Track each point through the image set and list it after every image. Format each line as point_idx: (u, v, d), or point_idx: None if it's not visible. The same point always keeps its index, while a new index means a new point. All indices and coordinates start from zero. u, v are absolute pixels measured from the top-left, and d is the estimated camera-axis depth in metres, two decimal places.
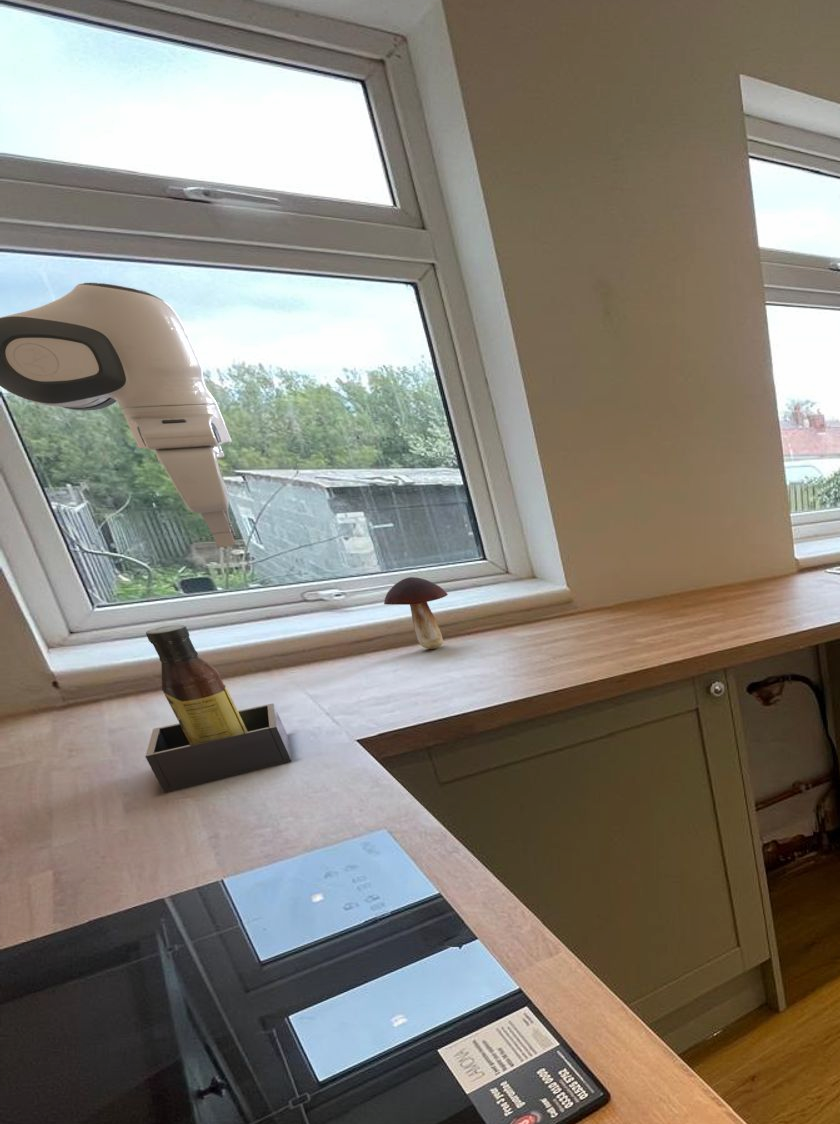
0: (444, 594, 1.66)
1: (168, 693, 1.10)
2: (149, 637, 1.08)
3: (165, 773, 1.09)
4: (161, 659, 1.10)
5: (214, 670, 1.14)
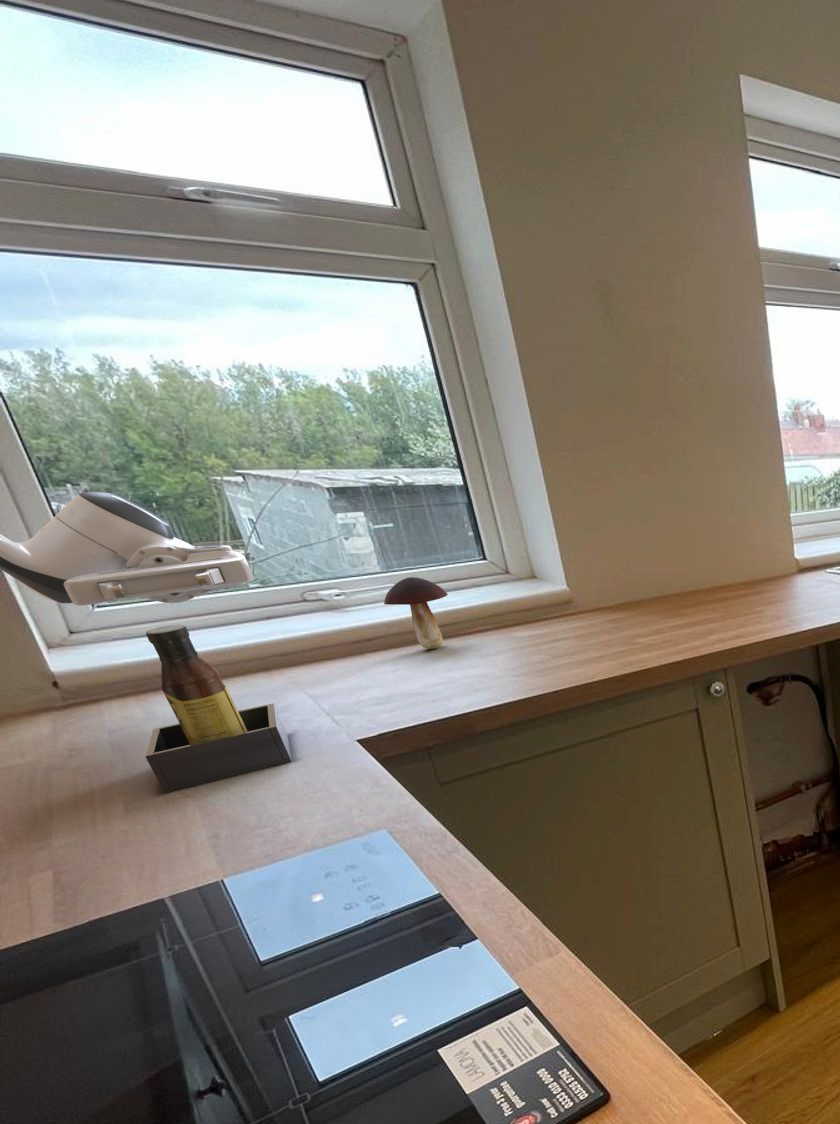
0: (444, 594, 1.66)
1: (168, 693, 1.10)
2: (149, 637, 1.08)
3: (165, 773, 1.09)
4: (161, 659, 1.10)
5: (214, 670, 1.14)
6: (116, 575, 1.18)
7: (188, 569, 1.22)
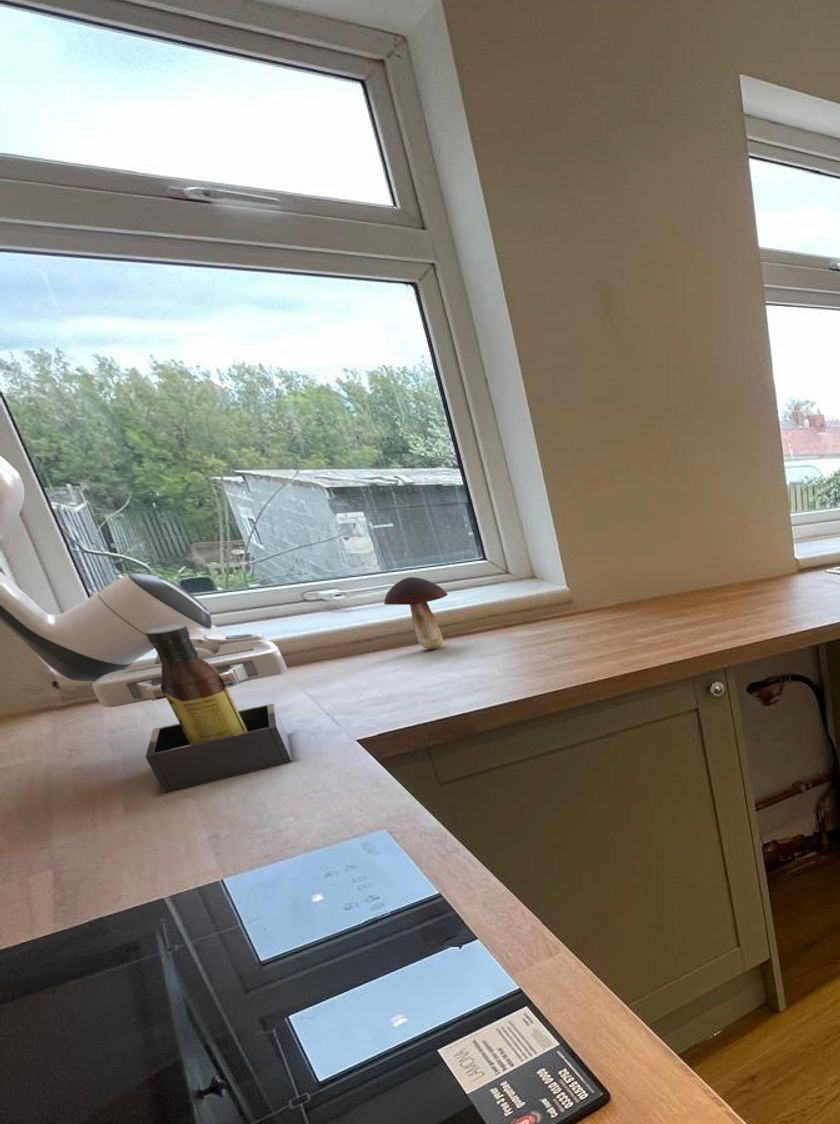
0: (444, 594, 1.66)
1: (168, 693, 1.10)
2: (149, 637, 1.08)
3: (165, 773, 1.09)
4: (161, 659, 1.10)
5: (214, 670, 1.14)
6: (146, 674, 1.13)
7: (220, 664, 1.17)
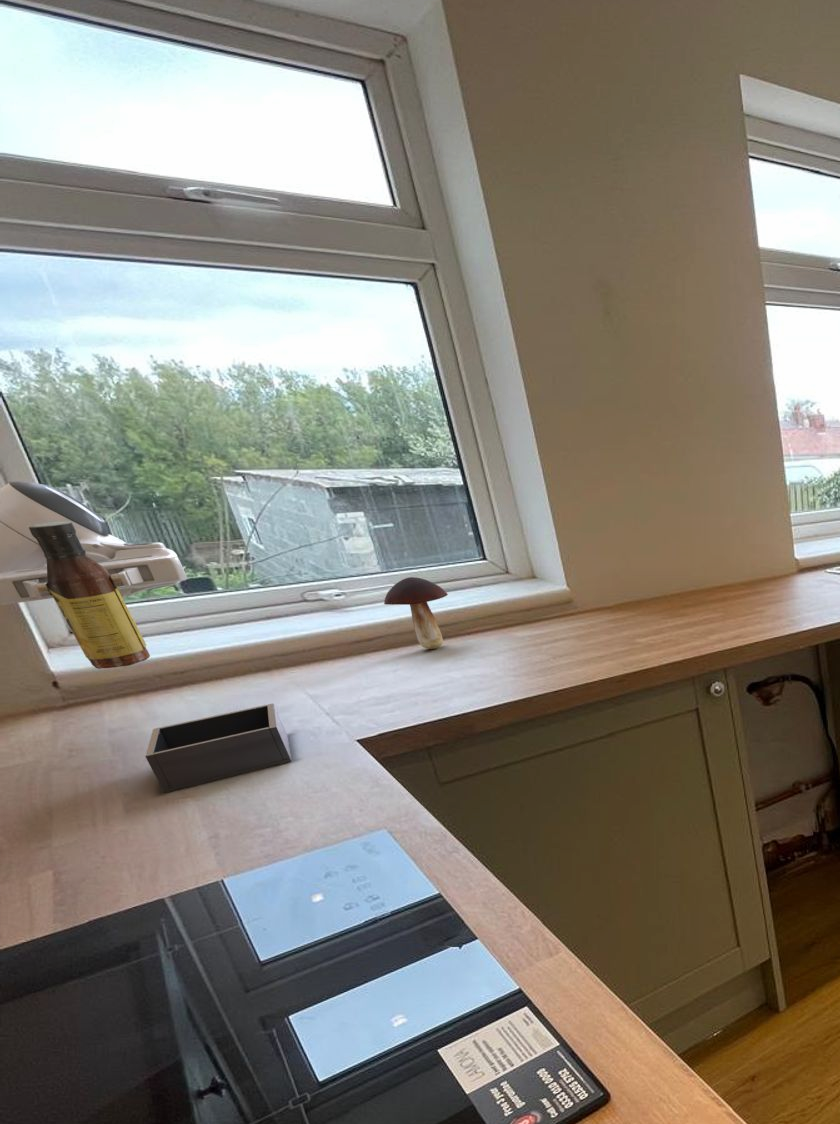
0: (444, 594, 1.66)
1: (54, 590, 1.09)
2: (32, 531, 1.06)
3: (165, 773, 1.09)
4: (45, 555, 1.08)
5: (103, 570, 1.12)
6: (34, 573, 1.11)
7: (113, 567, 1.16)
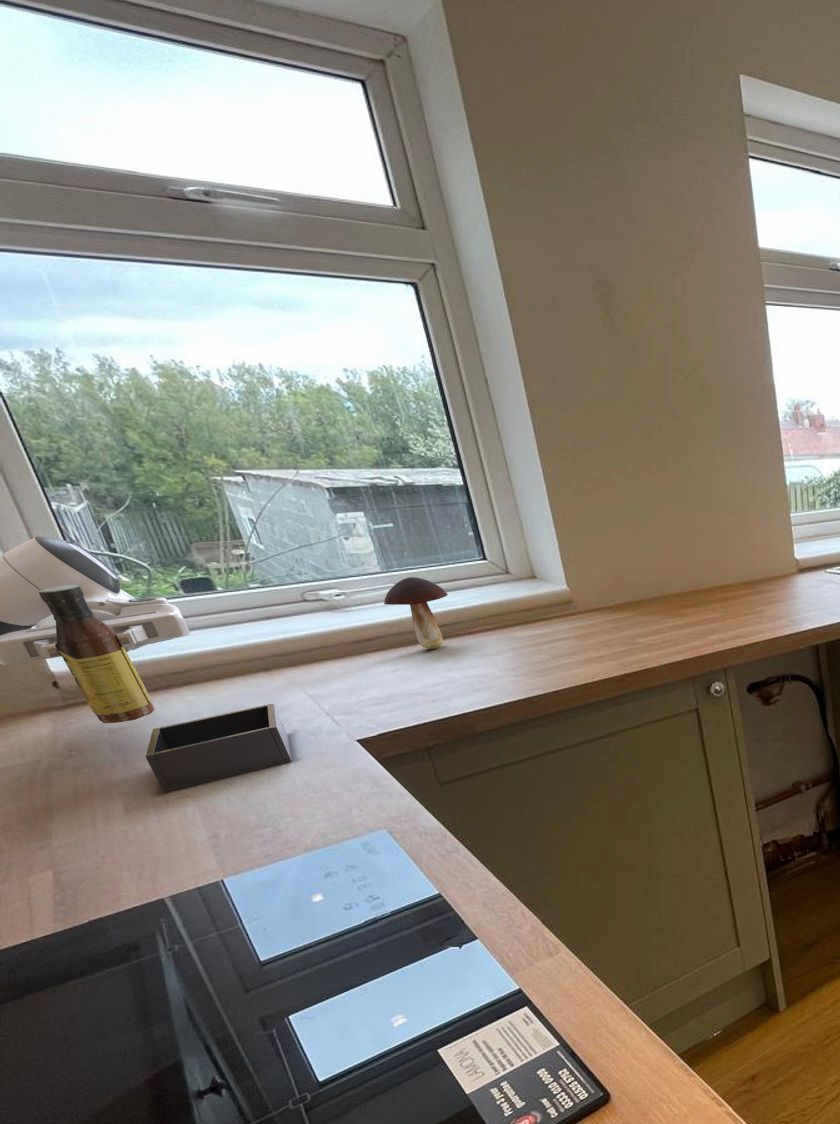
0: (444, 594, 1.66)
1: (63, 651, 1.14)
2: (42, 596, 1.11)
3: (165, 773, 1.09)
4: (55, 618, 1.13)
5: (110, 630, 1.17)
6: (43, 633, 1.16)
7: (119, 625, 1.21)
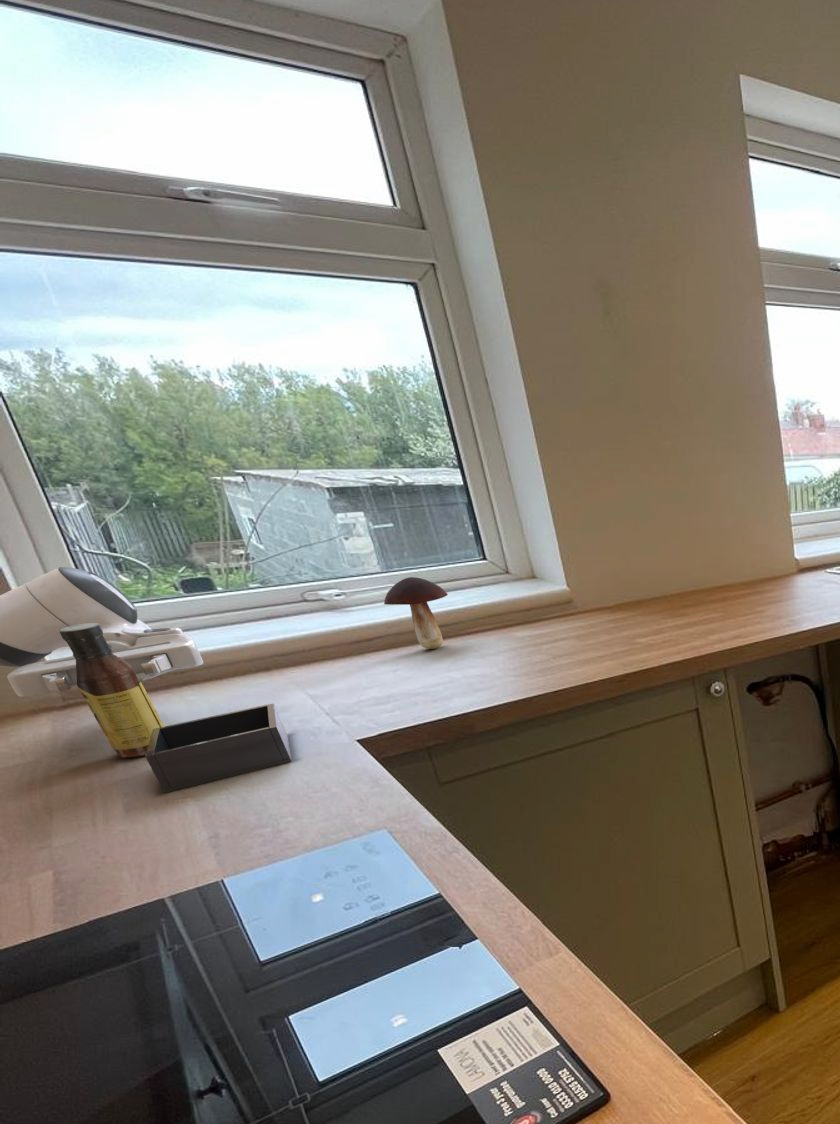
0: (444, 594, 1.66)
1: (82, 688, 1.16)
2: (62, 635, 1.14)
3: (165, 773, 1.09)
4: (75, 656, 1.15)
5: (128, 666, 1.19)
6: (61, 666, 1.18)
7: (135, 656, 1.23)
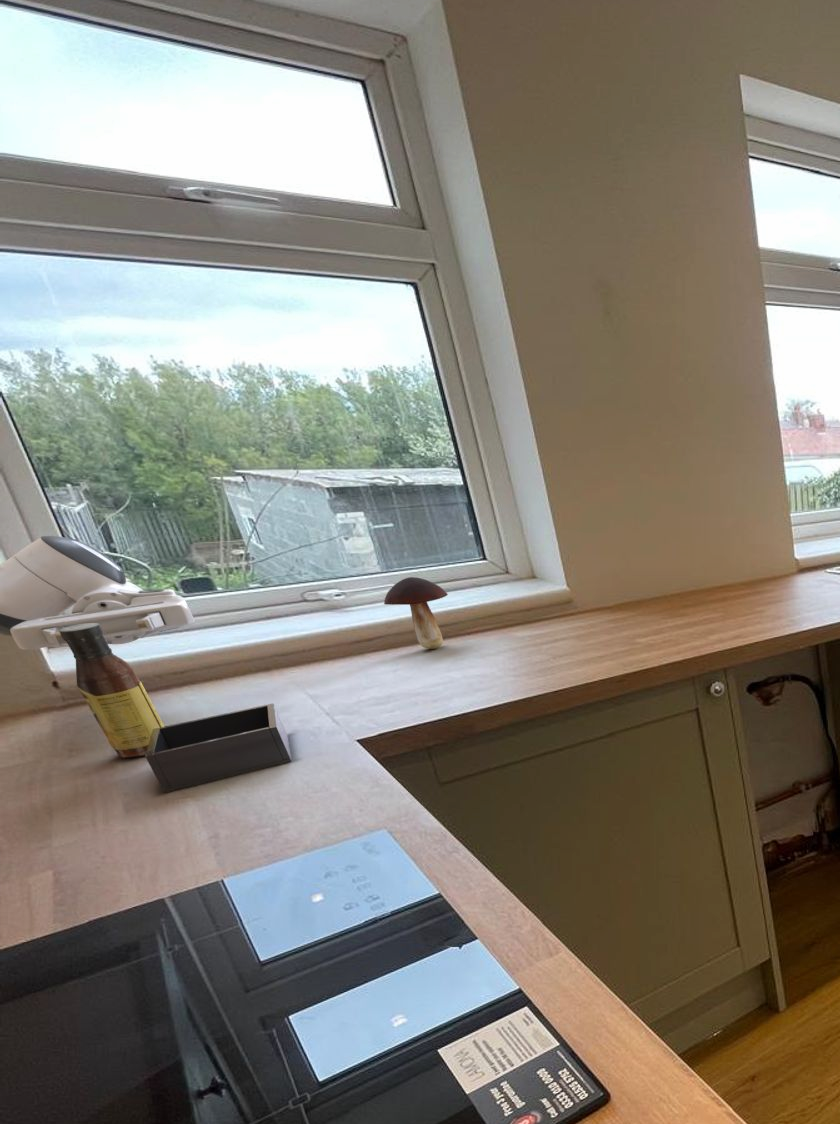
0: (444, 594, 1.66)
1: (82, 688, 1.16)
2: (62, 635, 1.14)
3: (165, 773, 1.09)
4: (75, 656, 1.15)
5: (128, 666, 1.19)
6: (60, 621, 1.26)
7: (130, 614, 1.30)
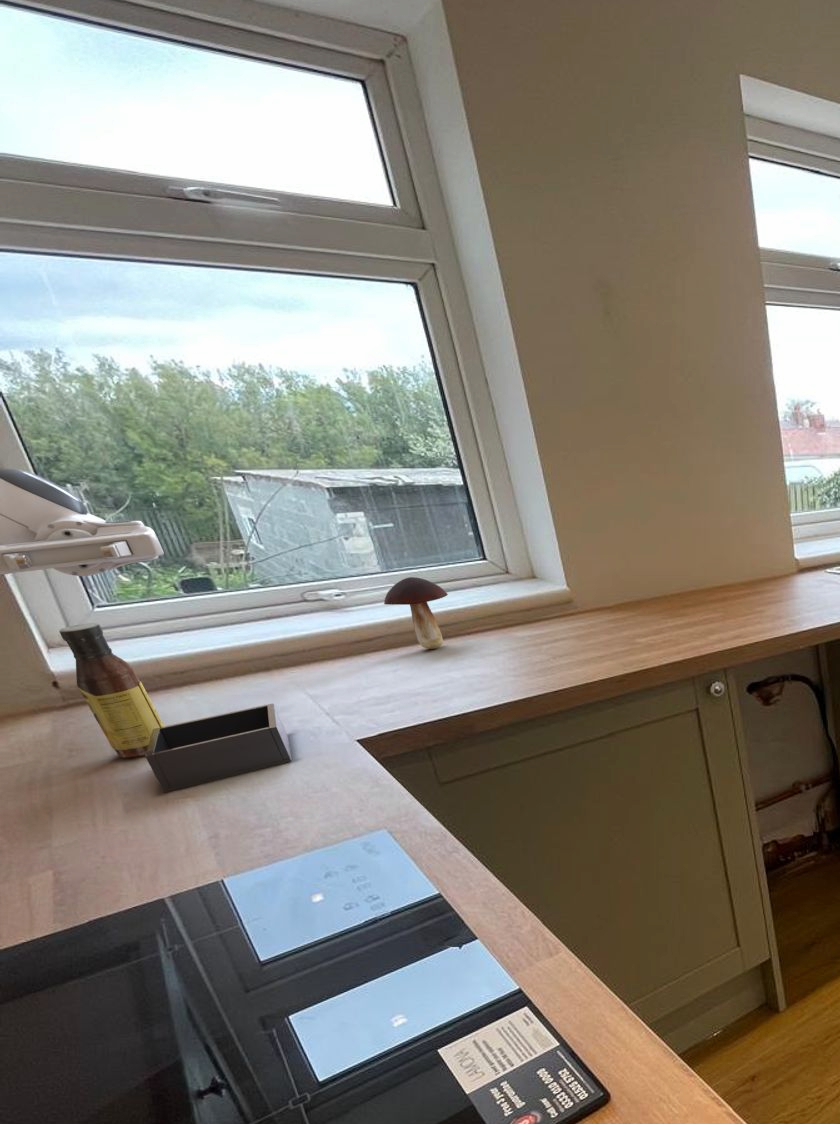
0: (444, 594, 1.66)
1: (82, 688, 1.16)
2: (62, 635, 1.14)
3: (165, 773, 1.09)
4: (75, 656, 1.15)
5: (128, 666, 1.19)
6: (22, 547, 1.22)
7: (95, 542, 1.26)
